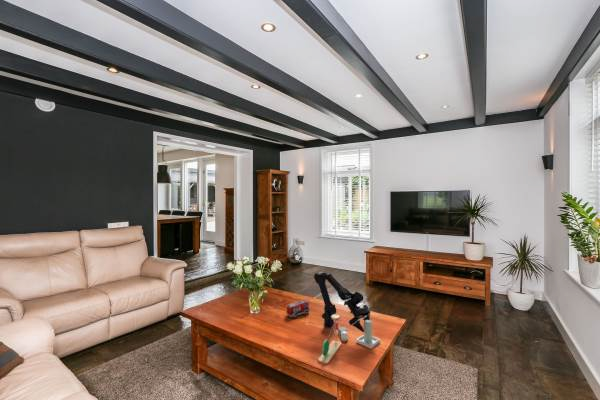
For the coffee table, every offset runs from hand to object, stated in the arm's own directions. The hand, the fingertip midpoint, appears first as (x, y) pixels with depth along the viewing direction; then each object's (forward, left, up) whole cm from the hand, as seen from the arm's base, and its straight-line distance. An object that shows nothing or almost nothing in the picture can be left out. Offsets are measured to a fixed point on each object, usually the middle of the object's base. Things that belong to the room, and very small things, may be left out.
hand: (367, 329), depth 186 cm
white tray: (0, 0, -8) cm, 8 cm away
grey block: (-15, +11, -9) cm, 20 cm away
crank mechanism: (-26, -11, -9) cm, 30 cm away
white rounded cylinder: (-15, +4, -8) cm, 17 cm away
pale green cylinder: (0, 0, -8) cm, 8 cm away
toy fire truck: (-44, +44, -9) cm, 63 cm away
